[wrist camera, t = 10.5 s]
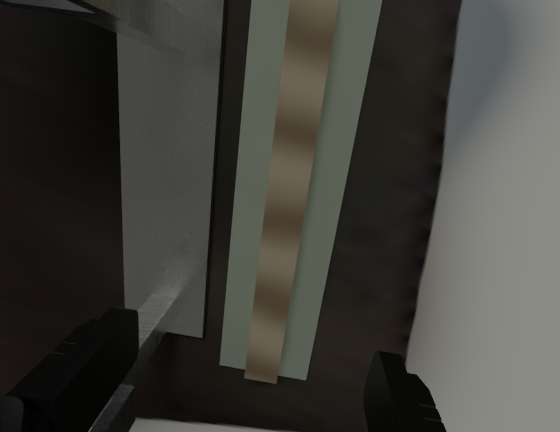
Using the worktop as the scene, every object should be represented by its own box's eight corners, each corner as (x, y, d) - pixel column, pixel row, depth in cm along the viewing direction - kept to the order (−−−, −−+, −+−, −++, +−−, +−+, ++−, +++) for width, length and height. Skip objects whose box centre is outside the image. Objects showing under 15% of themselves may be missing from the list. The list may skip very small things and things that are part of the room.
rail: (296, -17, 22) (294, -36, 19) (340, -12, 22) (344, -30, 19) (250, 354, 32) (244, 378, 30) (279, 359, 32) (276, 383, 29)
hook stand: (123, -17, 24) (-155, -206, 10) (227, -5, 24) (99, -181, 9) (130, 318, 34) (-4, 472, 19) (205, 331, 33) (125, 498, 19)
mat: (259, -51, 23) (256, -58, 22) (387, -36, 22) (390, -42, 21) (222, 357, 34) (219, 365, 33) (306, 372, 34) (306, 380, 33)
